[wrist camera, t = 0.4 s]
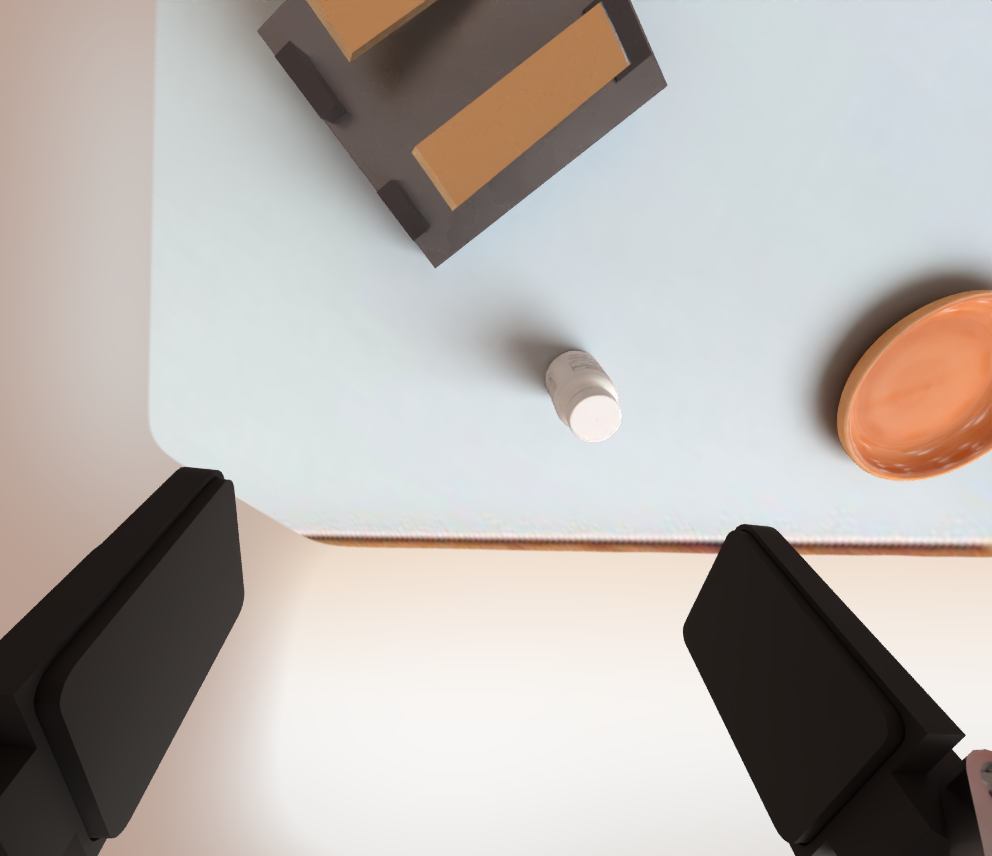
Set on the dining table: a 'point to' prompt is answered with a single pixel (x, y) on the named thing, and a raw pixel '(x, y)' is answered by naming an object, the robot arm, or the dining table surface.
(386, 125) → the grey mounting plate
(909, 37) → the dining table surface
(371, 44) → the plate
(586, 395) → the pill bottle
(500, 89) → the strap
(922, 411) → the saucer
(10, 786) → the robot arm
